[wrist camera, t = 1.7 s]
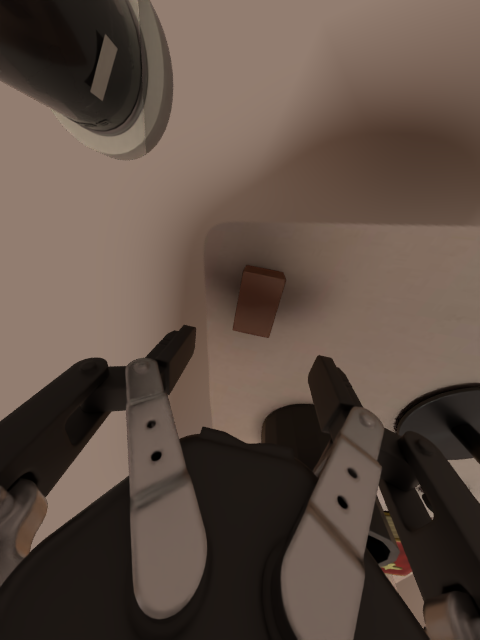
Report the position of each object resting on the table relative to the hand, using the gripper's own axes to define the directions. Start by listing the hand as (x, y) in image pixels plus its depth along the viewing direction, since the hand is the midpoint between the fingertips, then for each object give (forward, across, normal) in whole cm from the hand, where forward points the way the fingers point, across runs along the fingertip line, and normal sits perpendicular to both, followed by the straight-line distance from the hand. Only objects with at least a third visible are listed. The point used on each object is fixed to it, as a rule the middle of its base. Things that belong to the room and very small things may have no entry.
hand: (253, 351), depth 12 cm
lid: (+10, -30, +12) cm, 34 cm away
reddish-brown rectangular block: (+10, 0, 0) cm, 10 cm away
